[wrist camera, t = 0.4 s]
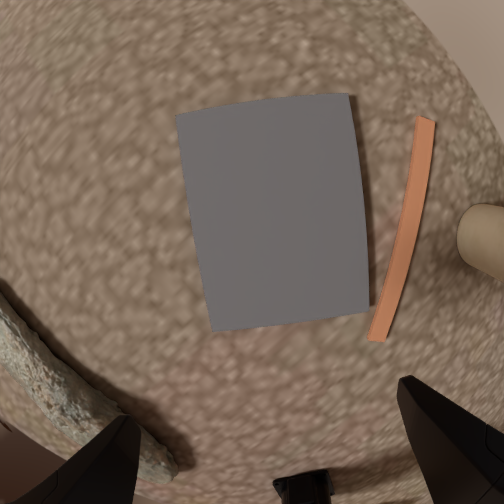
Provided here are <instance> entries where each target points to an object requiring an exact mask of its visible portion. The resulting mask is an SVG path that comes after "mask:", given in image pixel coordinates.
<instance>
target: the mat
mask: <svg viewBox="0 0 504 504" xmlns="http://www.w3.org/2000/svg"><path fill="white" fill-rule="evenodd" d="M175 116H176V124H177V132H178V140H179V147H180V154H181V161H182V168H183V175H184V181H185V188H186V194H187V201H188V207H189V213H190V219H191V225H192V230H193V236H194V242H195V247H196V253H197V258H198V263H199V268H200V274H201V279H202V284H203V289H204V294H205V299H206V304H207V308H208V313H209V318H210V322H211V327H212V332H217V331H228V330H238V329H248V328H257V327H265V326H274V325H282V324H290V323H297V322H304V321H311V320H318V319H325V318H331V317H338V316H344V315H350V314H356V313H361V312H367V311H369V272H368V250H367V234H366V220H365V208H364V198H363V188H362V180H361V171H360V164H359V156H358V149H357V142H356V136H355V130H354V124H353V118H352V112H351V107H350V102H349V97H348V93H334V94H316V95H303V96H291V97H281V98H272V99H264V100H257V101H249V102H243V103H236V104H230V105H224V106H218V107H213V108H208V109H203V110H198V111H193V112H188V113H183V114H179V115H175Z"/></svg>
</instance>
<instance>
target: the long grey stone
mask: <svg viewBox="0 0 504 504" xmlns="http://www.w3.org/2000/svg"><path fill="white" fill-rule="evenodd" d="M0 364H1V365H2V366H3V367H4V368H5V369H6V370H7V371H8V372H9V374H10V375H11V376H12V377H13V378H14V380H16V382H17V383H18V384H19V385H20V386H21V387H22V388H23V389H24V390H25V391H26V392H27V394H28V395H29V397H30V398H31V399H32V400H33V401H34V402H35V403H36V404H37V405H38V407H39V408H40V409H41V410H42V411H43V413H44V414H45V416H46V417H47V418H48V419H49V420H50V421H51V422H52V424H53V426H54V427H55V428H56V429H58V430H59V431H61V432H63V433H64V434H65V435H67V436H68V437H69V438H71V439H72V440H74V441H75V442H76V443H78V444H79V445H81V446H82V447H84V446H85V445H86V444H87V443H88V442H89V441H90V440H92V439H93V438H94V437H95V436H96V435H97V434H98V433H99V432H101V431H102V430H103V429H104V428H105V427H106V426H107V425H108V424H109V423H111V422H112V421H113V420H114V419H115V418H116V417H117V416H118V415H120V414H124V413H123V412H122V411H121V409H120V408H118V406H117V402H115V401H113V400H110V399H108V398H107V397H105V396H104V395H103V394H102V392H101V391H99V390H95V389H93V388H92V387H91V386H90V385H89V384H88V383H87V382H86V381H85V380H84V379H83V378H82V377H81V376H80V375H78V374H77V373H76V372H75V371H74V370H72V369H71V368H70V367H69V366H68V365H66V364H65V363H63V362H62V361H61V360H59V359H58V358H56V357H55V356H54V355H53V354H52V353H51V352H50V350H49V349H48V348H47V347H46V345H45V344H44V342H42V341H41V340H40V339H39V336H38V334H37V333H36V332H34V331H32V330H31V329H29V327H28V326H27V325H26V322H25V321H23V320H22V319H21V318H20V317H19V316H18V315H17V313H16V312H15V311H14V310H13V308H12V307H11V305H10V304H9V303H8V301H7V300H6V299H5V297H4V296H3V295H2V293H1V292H0ZM137 424H138V423H137ZM138 426H139V427H140V429H141V433H142V435H141V446H140V458H139V469H138V475H137V477H139V478H141V479H144V480H146V481H148V482H153V483H159V484H164V483H169V482H170V481H172V480H173V478H174V477H175V476H177V474H178V465H177V464H176V463H175V462H174V460H173V455H172V454H170V453H169V452H168V451H167V447H166V446H164V445H161V444H159V443H158V442H157V441H156V440H155V439H154V437H153V436H152V435H150V434H149V433H148V432H147V431H146V430H145V429H144V428H143V427H142V426H140V425H139V424H138Z"/></svg>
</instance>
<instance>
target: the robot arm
mask: <svg viewBox="0 0 504 504" xmlns="http://www.w3.org/2000/svg"><path fill="white" fill-rule="evenodd" d="M397 401H398V405H399V408H400V412H401V415H402V418H403V422H404V425H405V429H406V433H407V436H408V439H409V442H410V444H411V447H412V449H413V451H414V454H415V456H416V459H417V461H418V464H419V466H420V469H421V471H422V474H423V476H424V479H425V481H426V484H427V487H428V489H429V492H430V494H431V497H432V500H433V503H434V504H504V434H503V433H502V432H500V431H498V430H497V429H495V428H493V427H492V426H490V425H489V424H487V425H486V423H485V422H484V421H482V420H481V419H479V418H477V417H476V416H474V415H473V414H471V413H470V412H468V411H466V410H465V409H463V408H462V407H460V406H459V405H457V404H456V403H454V402H452V401H451V400H449V399H448V398H446V397H445V396H443V395H442V394H440V393H439V392H437V391H435V390H434V389H432V388H431V387H429V386H428V385H426V384H425V383H423V382H422V381H420V380H419V379H417V378H415V377H414V376H412V375H408V376H405V377H402V378H400V379H399V382H398V389H397ZM141 435H142V433H141V429H140V427H139V426H138V424H137V423H136V421H135V420H134V418H133V417H132V416H131V415H129V414H120V415H118V416H117V417H116V418H115V419H114V420H113V421H112V422H111V423H109V424H108V425H107V426H106V427H105V428H104V429H103V430H102V431H101V432H99V433H98V434H97V435H96V436H95V437H94V438H93V439H92V440H90V441H89V442H88V443H87V444H86V445H85V446H84V447H82V448H81V449H80V450H79V451H78V452H77V453H76V454H74V455H73V456H72V457H71V458H70V459H69V460H68V461H66V462H65V463H64V464H63V465H62V466H61V467H59V468H58V470H56V471H55V472H54V473H52V474H51V475H50V476H49V477H48V478H47V479H45V480H44V481H43V482H41V483H40V484H38V485H37V486H36V487H34V488H33V489H31V490H30V491H28V492H27V493H25V494H24V495H22V496H21V497H19V498H18V499H16V500H14V501H13V502H10V503H6V504H132V502H133V496H134V490H135V485H136V480H137V475H138V469H139V458H140V446H141ZM273 486H274V488H275V489H276V491H277V493H278V494H279V496H280V497H281V499H282V504H332V503H331V497H330V496H332V495H334V494H335V492H334V488H333V485H332V482H331V479H330V476H329V473H328V471H327V470H321V471H317V472H313V473H309V474H304V475H299V476H294V477H289V478H284V479H278V480H274V481H273Z"/></svg>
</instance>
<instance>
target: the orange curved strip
mask: <svg viewBox="0 0 504 504" xmlns="http://www.w3.org/2000/svg"><path fill="white" fill-rule="evenodd" d="M434 128H435V122H434V121H431V120H429V119H426V118H424V117H421V116H417V117H416V124H415V133H414V142H413V149H412V156H411V163H410V170H409V176H408V182H407V187H406V193H405V198H404V203H403V208H402V213H401V218H400V223H399V227H398V232H397V236H396V240H395V244H394V248H393V252H392V256H391V260H390V264H389V268H388V271H387V275H386V279H385V282H384V286H383V289H382V292H381V296H380V299H379V302H378V305H377V309H376V312H375V315H374V318H373V321H372V324H371V327H370V330H369V333H368V336H367V339H368V340H370V341H380V342H385V339H386V336H387V334H388V331H389V328H390V325H391V322H392V319H393V316H394V314H395V311H396V308H397V304H398V301H399V298H400V295H401V292H402V288H403V285H404V282H405V278H406V275H407V271H408V268H409V264H410V260H411V257H412V253H413V249H414V245H415V241H416V236H417V232H418V228H419V223H420V219H421V214H422V209H423V204H424V199H425V193H426V188H427V182H428V175H429V169H430V162H431V155H432V147H433V138H434Z"/></svg>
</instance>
